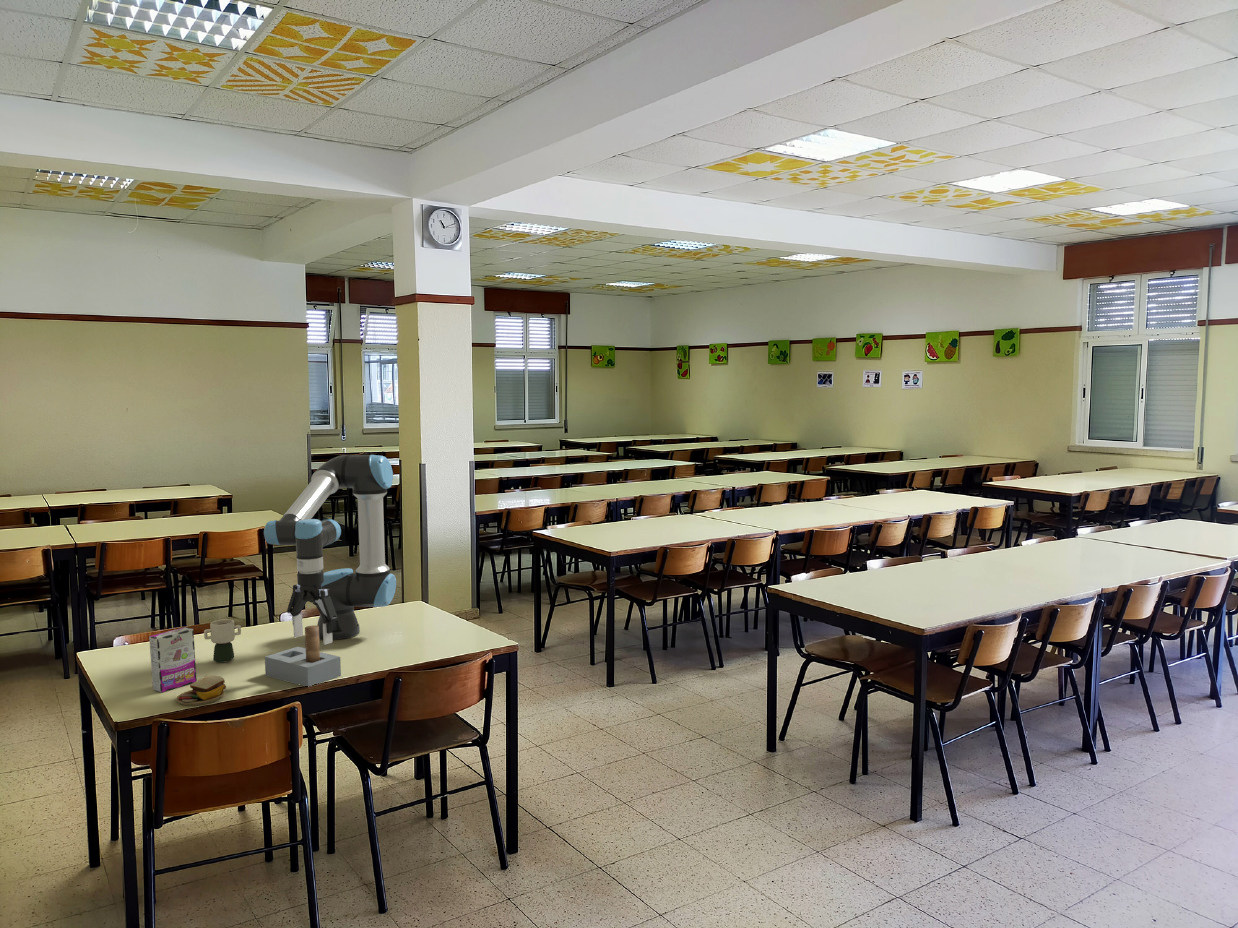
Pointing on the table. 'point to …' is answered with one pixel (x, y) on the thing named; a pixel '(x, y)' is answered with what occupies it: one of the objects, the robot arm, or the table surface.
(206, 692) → the toy sandwich meal
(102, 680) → the table surface
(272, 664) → the socket block
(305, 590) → the robot arm
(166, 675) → the candy bar box
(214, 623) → the cream green trophy cup
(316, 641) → the walnut dowel
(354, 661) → the table surface
